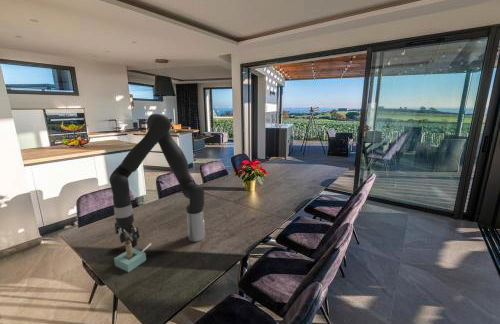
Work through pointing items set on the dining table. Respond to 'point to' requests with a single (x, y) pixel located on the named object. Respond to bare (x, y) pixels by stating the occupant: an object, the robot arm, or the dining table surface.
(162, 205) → the dining table surface
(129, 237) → the cup
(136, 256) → the teal open tray
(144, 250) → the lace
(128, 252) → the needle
